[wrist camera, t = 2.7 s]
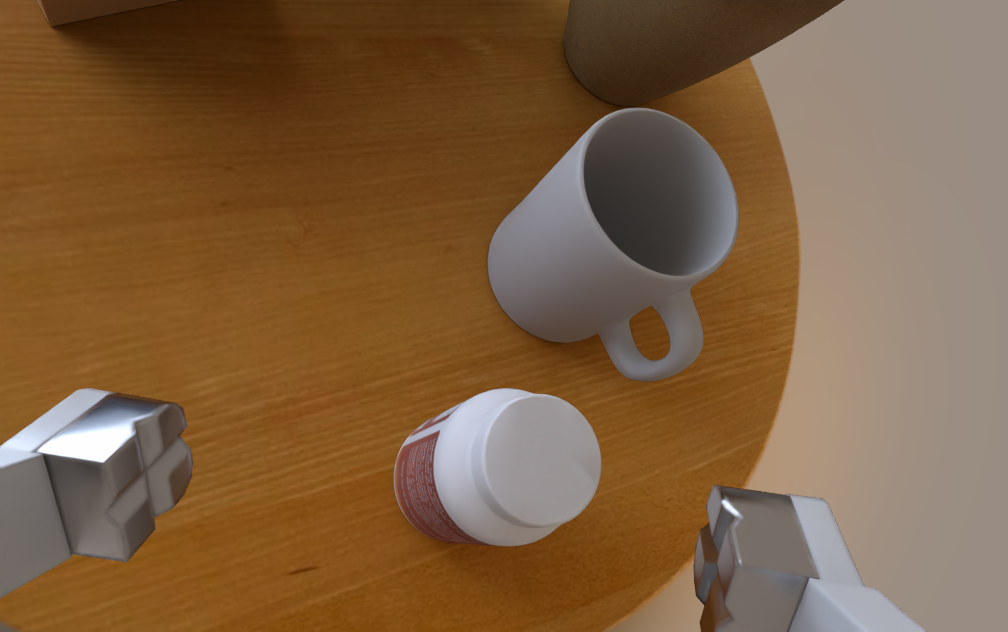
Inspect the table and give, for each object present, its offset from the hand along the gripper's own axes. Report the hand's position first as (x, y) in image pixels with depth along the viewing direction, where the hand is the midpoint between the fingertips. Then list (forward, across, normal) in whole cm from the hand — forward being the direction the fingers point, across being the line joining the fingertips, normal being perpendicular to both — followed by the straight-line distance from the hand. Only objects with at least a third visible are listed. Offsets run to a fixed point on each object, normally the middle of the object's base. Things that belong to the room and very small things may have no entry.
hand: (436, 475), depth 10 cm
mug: (+28, -1, +9) cm, 29 cm away
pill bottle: (+18, +3, +16) cm, 24 cm away
